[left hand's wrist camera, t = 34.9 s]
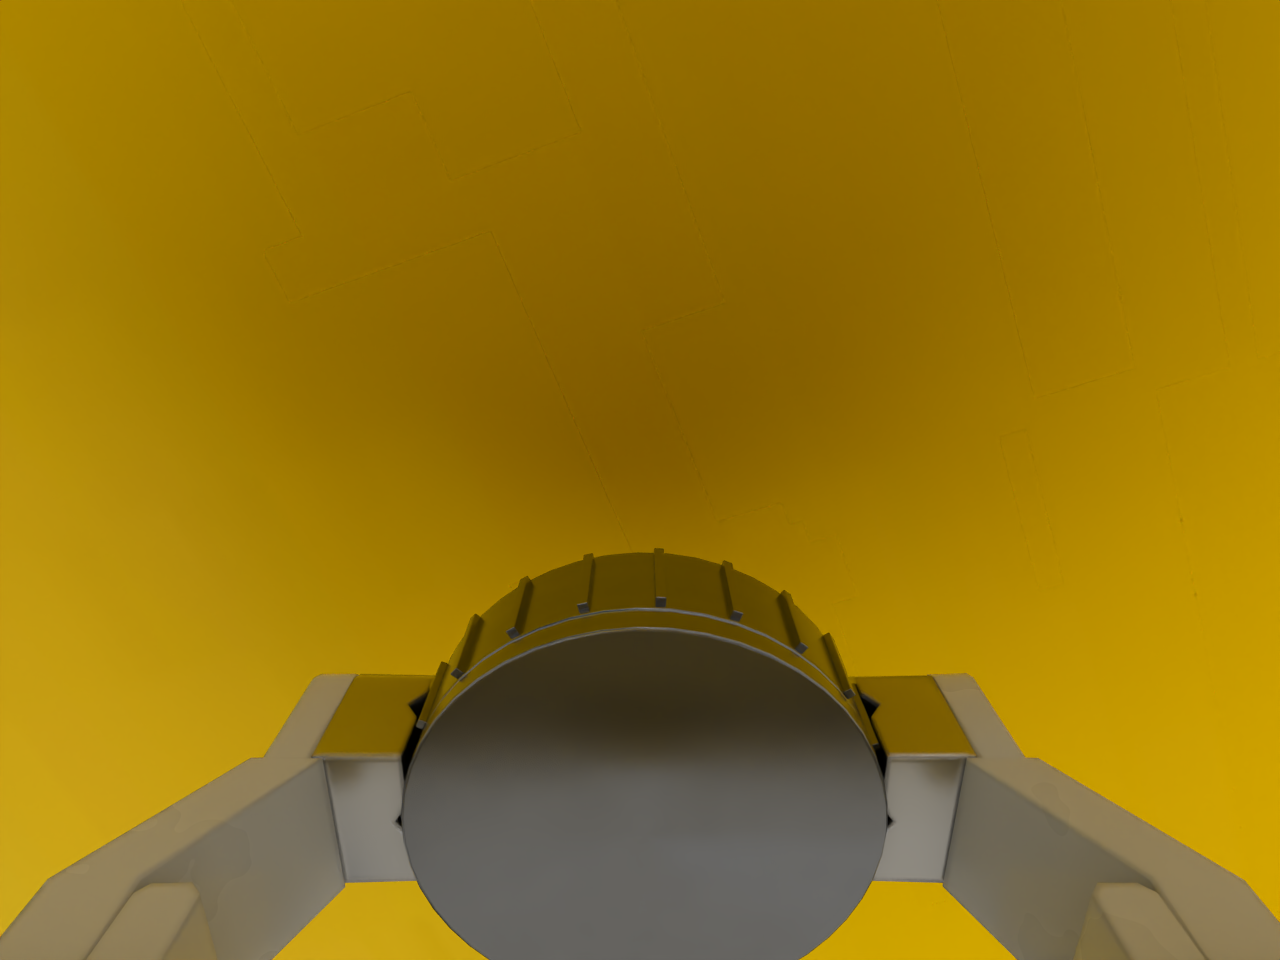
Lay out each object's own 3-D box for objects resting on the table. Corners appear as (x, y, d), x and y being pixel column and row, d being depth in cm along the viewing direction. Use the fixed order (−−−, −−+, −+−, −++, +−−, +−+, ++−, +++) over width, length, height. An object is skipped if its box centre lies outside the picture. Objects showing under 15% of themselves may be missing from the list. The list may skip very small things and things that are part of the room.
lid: (484, 915, 11) (461, 1031, 10) (376, 580, 9) (325, 662, 8) (868, 868, 11) (904, 981, 10) (841, 512, 9) (880, 584, 8)
